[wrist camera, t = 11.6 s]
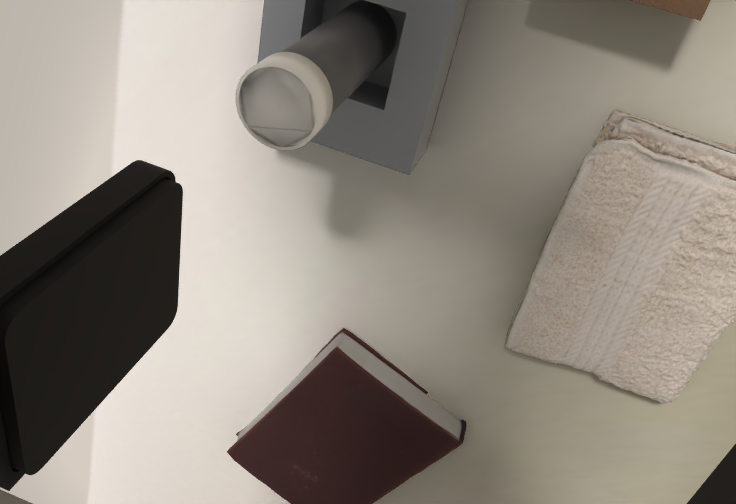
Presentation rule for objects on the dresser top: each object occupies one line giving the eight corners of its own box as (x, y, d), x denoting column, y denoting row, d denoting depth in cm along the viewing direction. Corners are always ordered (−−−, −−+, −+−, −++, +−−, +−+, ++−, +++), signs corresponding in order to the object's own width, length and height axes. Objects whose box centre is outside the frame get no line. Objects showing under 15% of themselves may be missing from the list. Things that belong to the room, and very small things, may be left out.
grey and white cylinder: (340, -12, 38) (239, 50, 29) (406, 9, 38) (325, 79, 28) (328, 56, 41) (232, 133, 31) (391, 76, 40) (311, 162, 30)
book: (471, 419, 54) (463, 450, 52) (341, 509, 66) (329, 538, 63) (348, 320, 53) (333, 347, 51) (237, 429, 65) (220, 455, 62)
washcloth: (823, 162, 37) (836, 188, 34) (674, 391, 47) (675, 424, 44) (601, 96, 38) (598, 116, 36) (505, 331, 49) (498, 359, 46)
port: (306, -108, 37) (271, -98, 34) (483, -56, 36) (466, -41, 32) (279, 97, 44) (248, 123, 41) (426, 147, 43) (407, 178, 39)
